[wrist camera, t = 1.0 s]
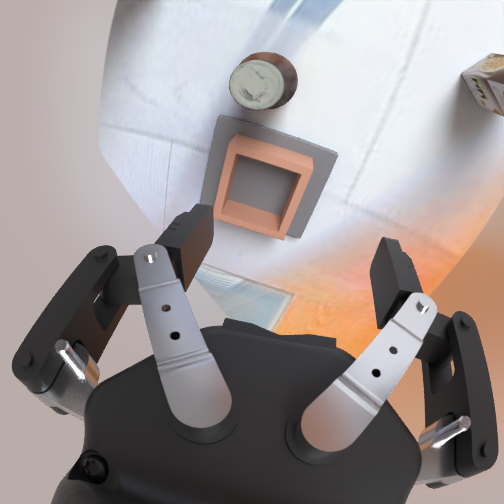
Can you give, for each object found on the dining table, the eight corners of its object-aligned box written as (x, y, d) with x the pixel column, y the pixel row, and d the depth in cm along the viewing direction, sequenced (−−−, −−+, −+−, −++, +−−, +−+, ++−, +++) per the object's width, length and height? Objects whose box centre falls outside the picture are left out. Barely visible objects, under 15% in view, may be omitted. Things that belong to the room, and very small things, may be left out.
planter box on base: (201, 202, 48) (190, 220, 43) (220, 114, 37) (208, 123, 33) (300, 233, 48) (299, 255, 44) (337, 152, 38) (341, 167, 33)
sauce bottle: (259, 101, 35) (221, 137, 20) (245, 62, 32) (194, 65, 17) (304, 90, 33) (305, 116, 18) (291, 50, 30) (280, 37, 14)
